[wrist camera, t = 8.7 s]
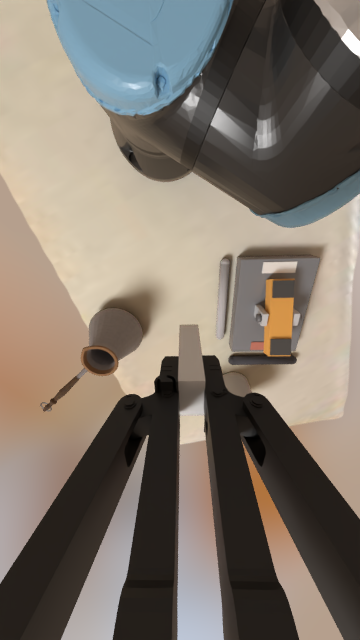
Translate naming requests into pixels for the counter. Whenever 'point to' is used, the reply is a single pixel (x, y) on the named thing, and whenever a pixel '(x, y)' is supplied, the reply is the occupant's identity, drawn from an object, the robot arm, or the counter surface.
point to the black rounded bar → (261, 360)
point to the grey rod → (222, 297)
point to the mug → (237, 384)
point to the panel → (252, 295)
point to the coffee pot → (106, 345)
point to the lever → (279, 317)
